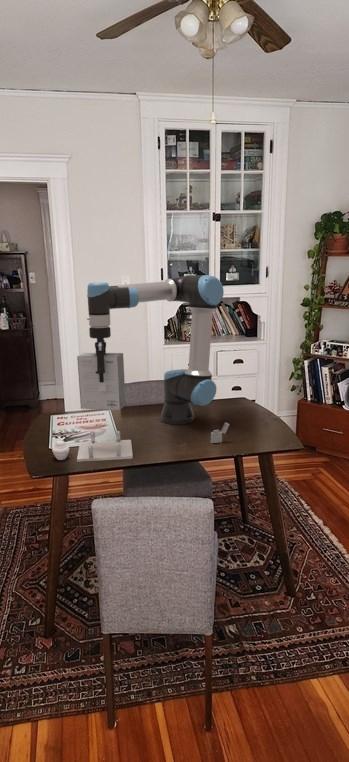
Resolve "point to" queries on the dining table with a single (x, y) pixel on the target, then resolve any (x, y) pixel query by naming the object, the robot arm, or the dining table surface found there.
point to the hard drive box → (89, 382)
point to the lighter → (218, 434)
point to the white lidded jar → (60, 450)
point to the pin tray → (105, 449)
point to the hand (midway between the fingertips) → (102, 387)
